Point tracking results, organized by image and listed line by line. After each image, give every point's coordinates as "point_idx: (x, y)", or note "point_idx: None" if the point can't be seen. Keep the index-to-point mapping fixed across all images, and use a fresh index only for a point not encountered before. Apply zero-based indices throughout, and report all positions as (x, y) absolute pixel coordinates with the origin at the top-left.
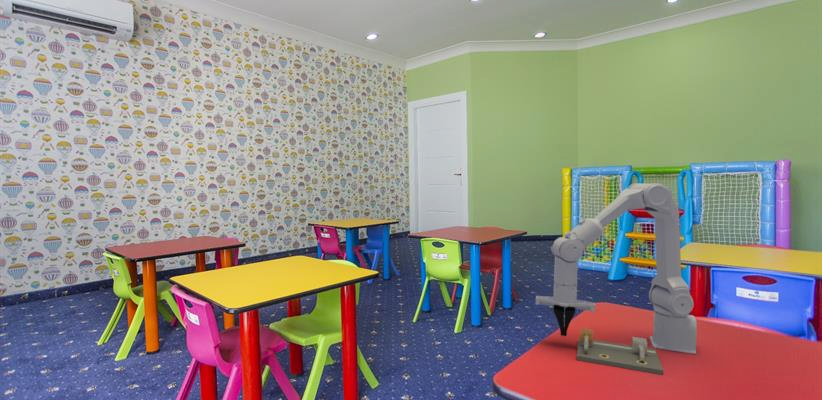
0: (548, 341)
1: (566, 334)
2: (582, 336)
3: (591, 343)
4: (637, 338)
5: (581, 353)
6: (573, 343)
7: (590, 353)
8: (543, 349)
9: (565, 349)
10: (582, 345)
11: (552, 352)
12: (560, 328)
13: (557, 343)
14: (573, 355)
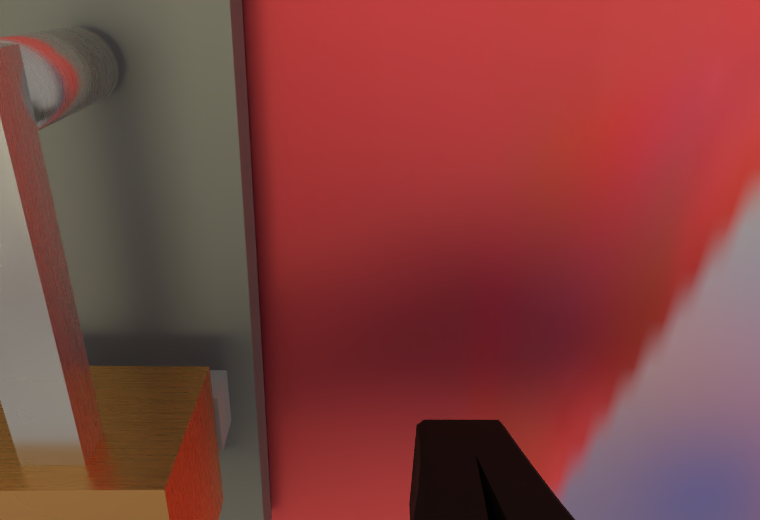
0: (595, 409)
1: (417, 447)
2: (148, 428)
3: None
4: None
5: (160, 24)
6: (320, 457)
7: None
8: (700, 142)
9: (408, 258)
10: (191, 351)
11: (588, 82)
12: (551, 498)
13: (496, 394)
14: (300, 92)
